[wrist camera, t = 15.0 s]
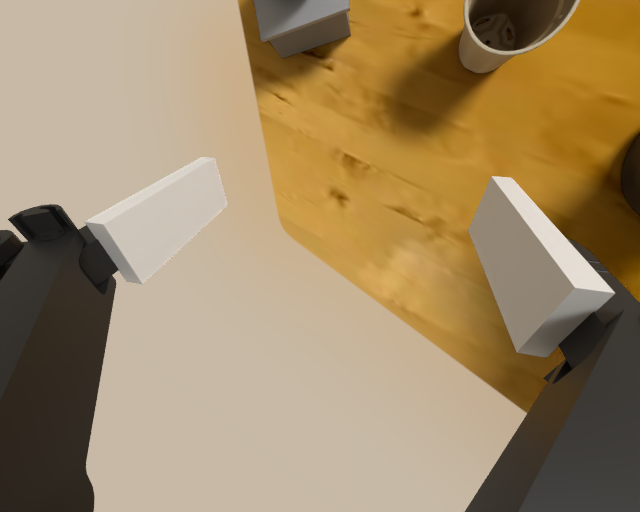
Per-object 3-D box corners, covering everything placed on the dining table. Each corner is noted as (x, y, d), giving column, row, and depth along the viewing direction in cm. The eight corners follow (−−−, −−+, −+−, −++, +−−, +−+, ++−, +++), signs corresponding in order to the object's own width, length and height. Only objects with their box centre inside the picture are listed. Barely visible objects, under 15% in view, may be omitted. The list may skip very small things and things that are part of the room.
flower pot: (473, 106, 33) (504, 78, 24) (427, 48, 32) (443, 0, 24) (548, 42, 29) (612, -15, 21) (498, -23, 29) (544, -106, 21)
